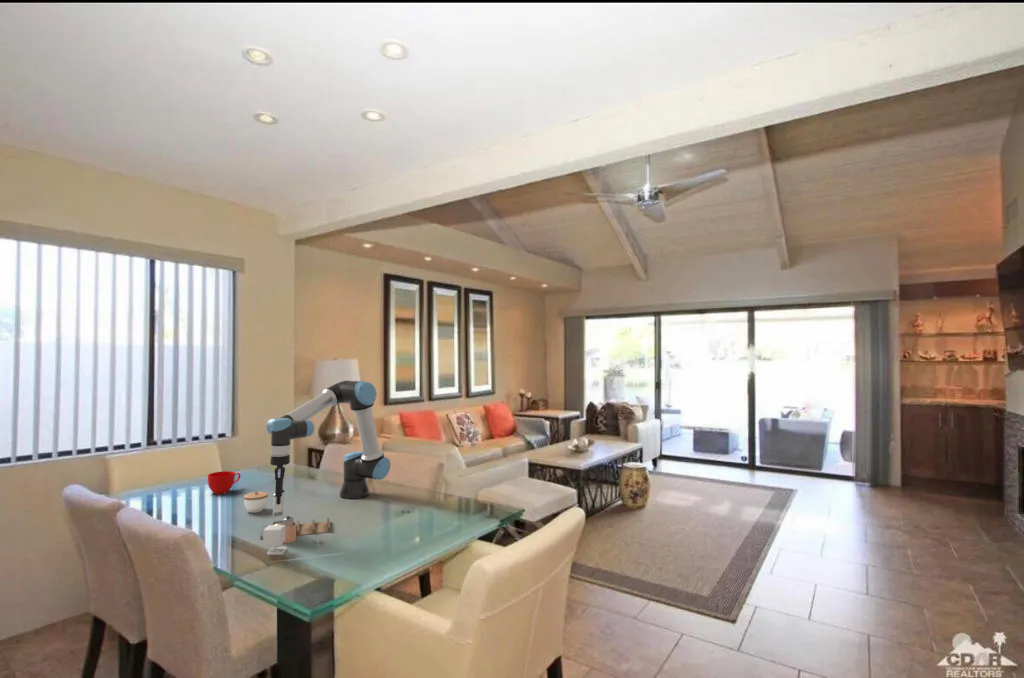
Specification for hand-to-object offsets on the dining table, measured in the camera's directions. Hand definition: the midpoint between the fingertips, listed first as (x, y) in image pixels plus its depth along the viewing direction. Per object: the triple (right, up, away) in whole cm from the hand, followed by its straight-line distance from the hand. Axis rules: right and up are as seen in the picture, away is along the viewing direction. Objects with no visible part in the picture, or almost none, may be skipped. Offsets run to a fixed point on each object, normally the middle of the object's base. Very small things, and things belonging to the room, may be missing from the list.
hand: (278, 509), depth 222 cm
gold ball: (0, -10, 0) cm, 10 cm away
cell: (0, -2, 0) cm, 2 cm away
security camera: (+8, -10, -21) cm, 25 cm away
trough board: (+13, -10, +5) cm, 17 cm away
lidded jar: (-25, -11, +30) cm, 40 cm away
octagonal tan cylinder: (+8, -10, -9) cm, 16 cm away
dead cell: (+8, -9, -9) cm, 15 cm away
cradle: (0, -10, +1) cm, 10 cm away
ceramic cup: (-58, -11, +62) cm, 86 cm away
